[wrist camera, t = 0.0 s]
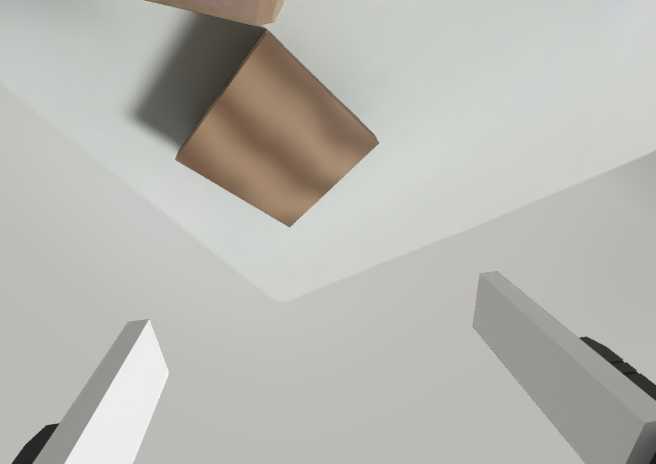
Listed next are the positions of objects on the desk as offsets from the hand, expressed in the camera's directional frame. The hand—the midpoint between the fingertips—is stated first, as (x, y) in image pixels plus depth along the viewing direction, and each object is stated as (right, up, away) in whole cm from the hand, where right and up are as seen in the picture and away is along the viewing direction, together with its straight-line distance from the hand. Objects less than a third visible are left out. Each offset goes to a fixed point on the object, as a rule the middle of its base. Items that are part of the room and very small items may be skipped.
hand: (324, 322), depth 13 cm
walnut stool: (-5, +16, +23) cm, 28 cm away
